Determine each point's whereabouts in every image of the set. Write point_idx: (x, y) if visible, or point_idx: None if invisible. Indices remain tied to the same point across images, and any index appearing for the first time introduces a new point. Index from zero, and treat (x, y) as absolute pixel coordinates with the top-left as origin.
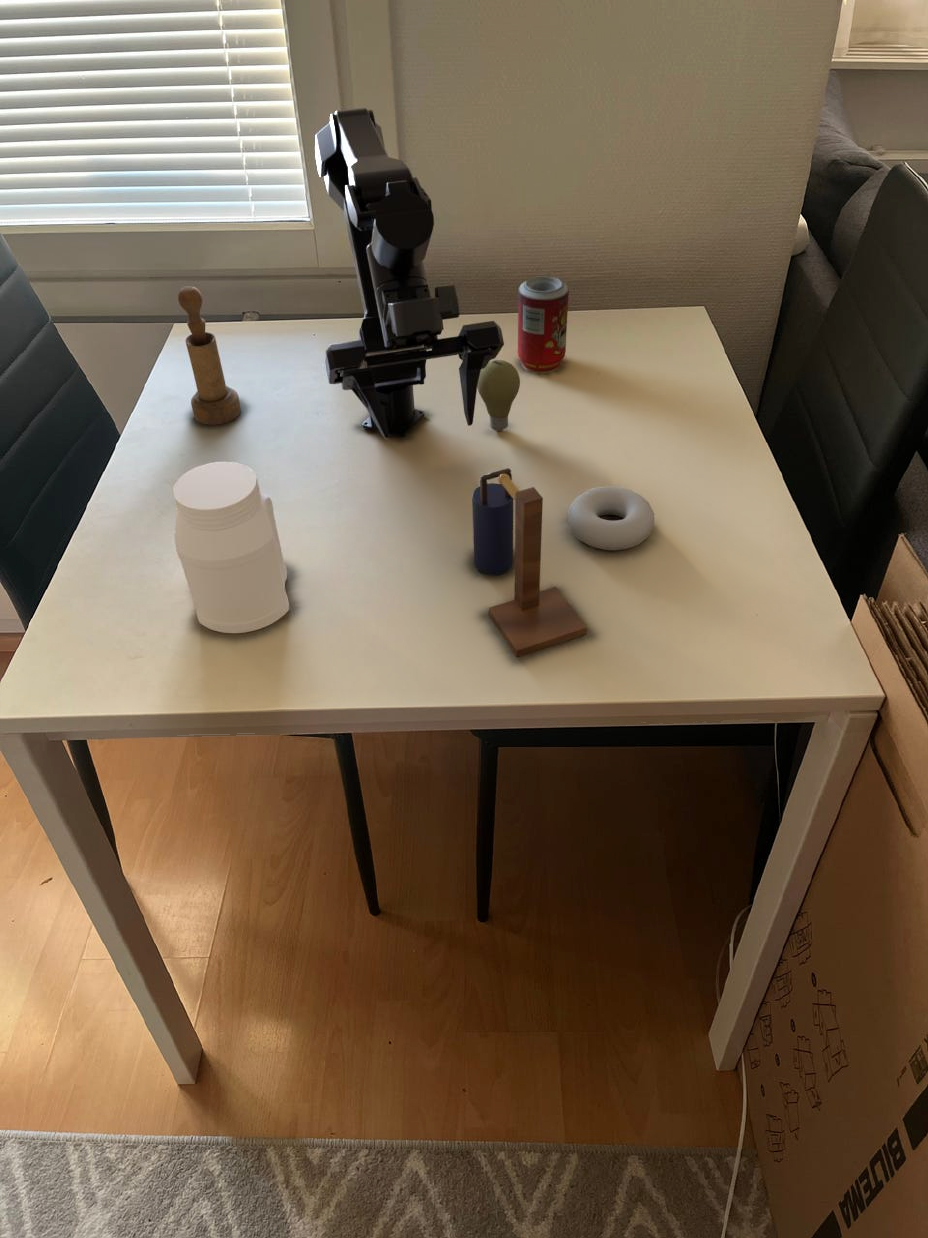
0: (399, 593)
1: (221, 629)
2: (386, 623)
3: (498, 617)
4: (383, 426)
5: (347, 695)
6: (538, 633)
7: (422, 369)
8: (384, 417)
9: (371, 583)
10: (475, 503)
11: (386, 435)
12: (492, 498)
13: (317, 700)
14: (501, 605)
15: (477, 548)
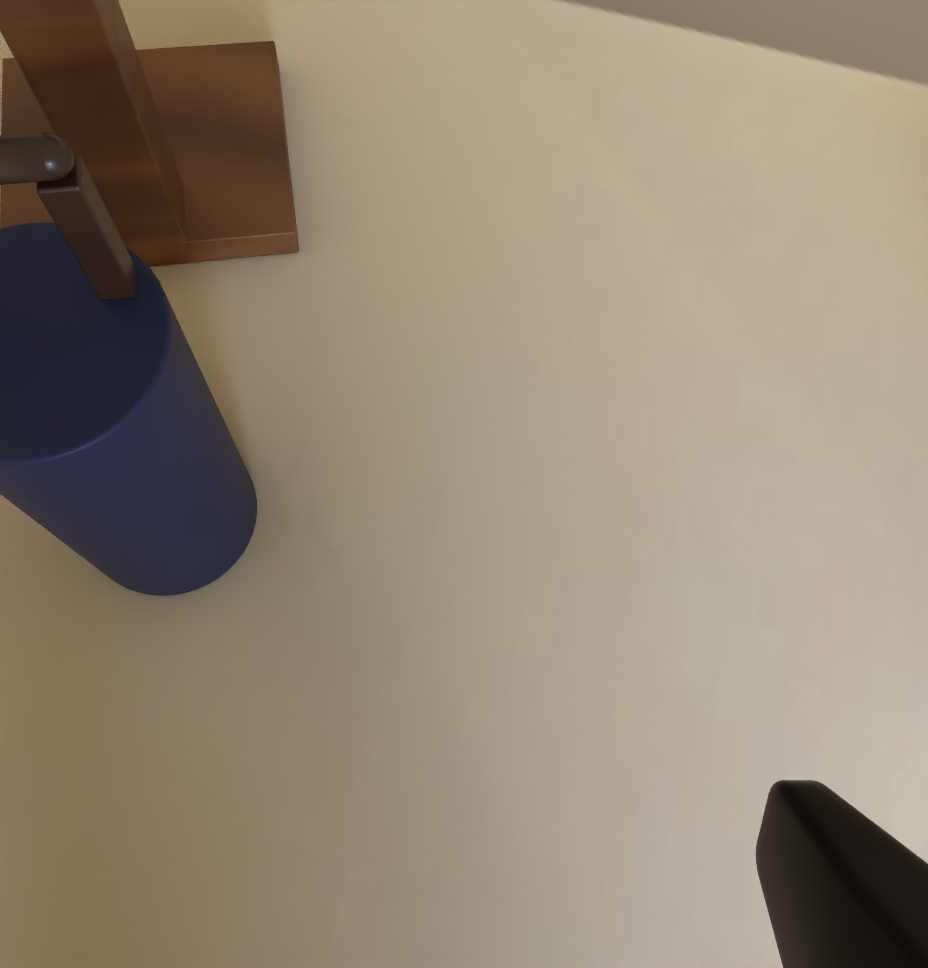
0: (595, 450)
1: None
2: (664, 317)
3: (278, 179)
4: (877, 855)
5: (810, 85)
6: (174, 80)
7: None
8: (908, 929)
9: (698, 539)
10: (170, 310)
11: (806, 785)
12: (49, 303)
13: (896, 94)
14: (244, 227)
15: (231, 437)
